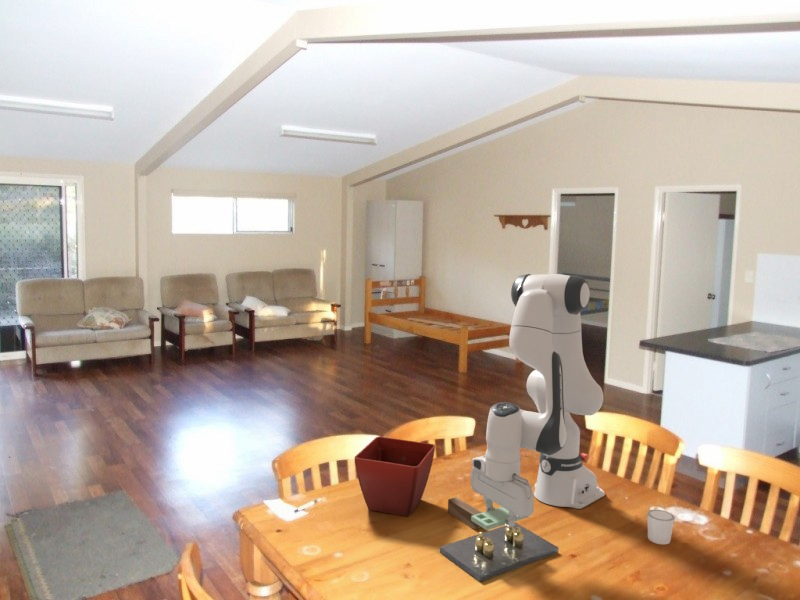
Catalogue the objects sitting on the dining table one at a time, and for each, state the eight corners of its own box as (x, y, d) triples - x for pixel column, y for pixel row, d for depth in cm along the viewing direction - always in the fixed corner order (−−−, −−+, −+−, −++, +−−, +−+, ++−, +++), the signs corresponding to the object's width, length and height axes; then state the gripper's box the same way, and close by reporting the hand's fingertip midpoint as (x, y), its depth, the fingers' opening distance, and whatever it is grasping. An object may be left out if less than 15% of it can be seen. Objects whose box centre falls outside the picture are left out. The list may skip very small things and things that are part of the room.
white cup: (672, 535, 182) (674, 511, 181) (673, 547, 175) (675, 522, 174) (645, 531, 184) (647, 507, 183) (645, 542, 178) (647, 518, 177)
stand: (456, 510, 195) (456, 497, 194) (482, 526, 185) (483, 513, 184) (447, 512, 193) (448, 499, 192) (474, 529, 183) (474, 515, 182)
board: (486, 530, 163) (486, 525, 163) (471, 520, 168) (471, 516, 168) (528, 517, 171) (528, 512, 171) (512, 508, 176) (512, 503, 176)
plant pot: (416, 524, 185) (417, 466, 183) (352, 513, 191) (353, 457, 189) (434, 497, 203) (436, 444, 201) (376, 487, 209) (377, 436, 207)
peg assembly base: (515, 527, 185) (516, 506, 184) (558, 552, 171) (559, 530, 170) (439, 552, 170) (440, 529, 170) (479, 582, 157) (480, 557, 156)
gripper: (541, 479, 161) (538, 533, 163) (486, 453, 178) (483, 502, 180) (521, 485, 157) (519, 540, 159) (467, 457, 174) (465, 507, 176)
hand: (500, 519), depth 170 cm, fingers closed on board, 6 cm apart
